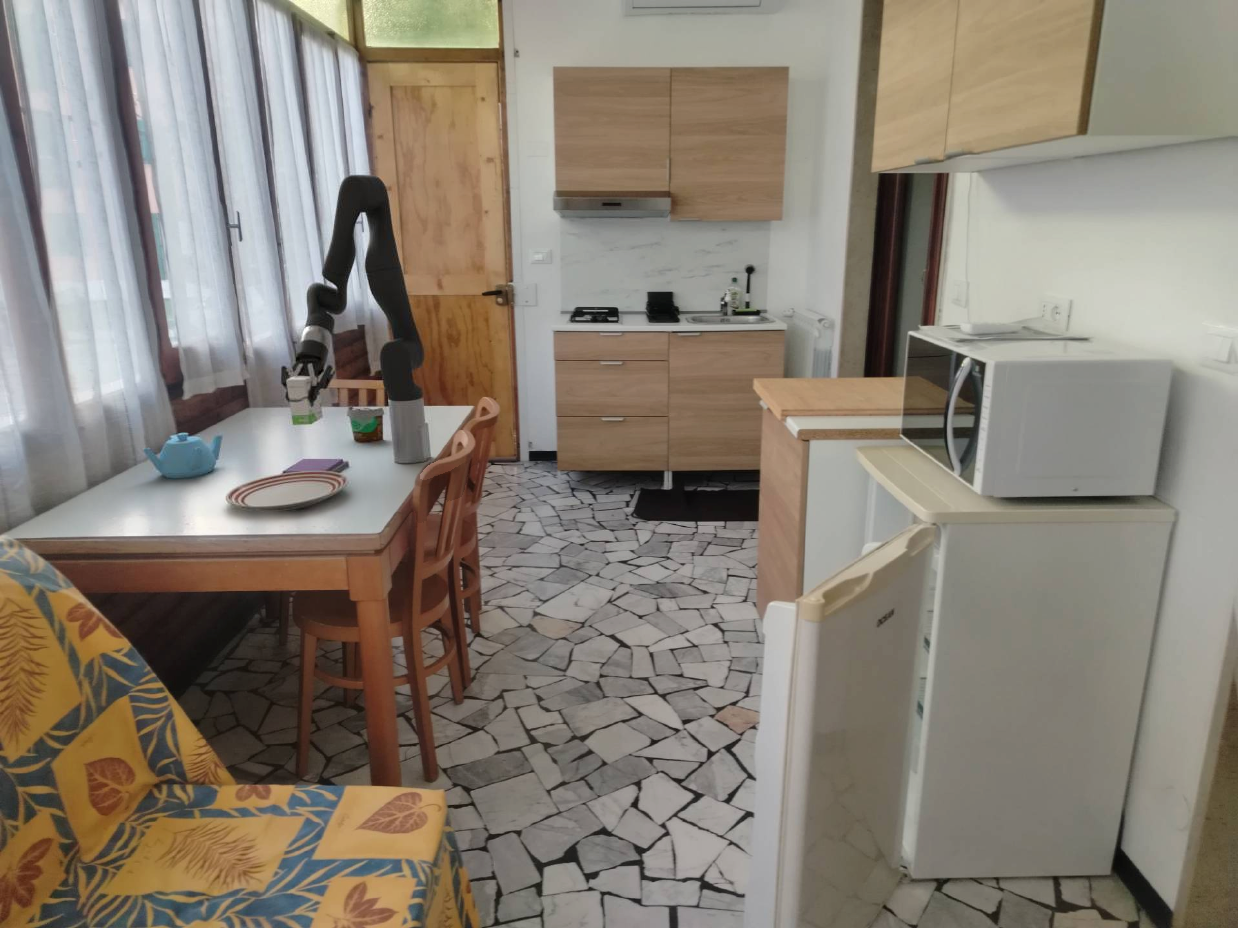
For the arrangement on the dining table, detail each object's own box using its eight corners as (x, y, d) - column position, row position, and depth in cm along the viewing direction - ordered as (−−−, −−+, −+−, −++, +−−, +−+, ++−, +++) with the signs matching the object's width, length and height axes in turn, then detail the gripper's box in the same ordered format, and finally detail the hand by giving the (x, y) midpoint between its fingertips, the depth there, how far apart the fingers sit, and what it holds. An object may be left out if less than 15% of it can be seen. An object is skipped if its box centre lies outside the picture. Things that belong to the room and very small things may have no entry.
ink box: (311, 425, 212) (304, 379, 209) (291, 425, 212) (285, 379, 209) (323, 417, 220) (317, 373, 217) (305, 418, 220) (299, 373, 217)
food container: (340, 441, 252) (337, 409, 249) (354, 437, 258) (350, 405, 255) (374, 444, 248) (370, 411, 245) (387, 439, 253) (383, 407, 250)
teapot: (230, 464, 231) (224, 426, 228) (204, 479, 216) (198, 439, 213) (176, 465, 231) (169, 427, 228) (146, 481, 216) (138, 441, 214)
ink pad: (348, 465, 226) (347, 457, 225) (326, 480, 213) (325, 472, 212) (302, 465, 227) (301, 457, 227) (278, 480, 214) (276, 472, 213)
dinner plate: (218, 524, 183) (215, 509, 182) (236, 488, 208) (234, 476, 207) (349, 510, 190) (347, 496, 189) (350, 477, 215) (349, 465, 214)
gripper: (281, 339, 217) (266, 393, 209) (335, 338, 216) (321, 392, 208) (294, 356, 224) (279, 409, 216) (345, 355, 222) (332, 408, 214)
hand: (300, 401), depth 212 cm, fingers closed on ink box, 5 cm apart
